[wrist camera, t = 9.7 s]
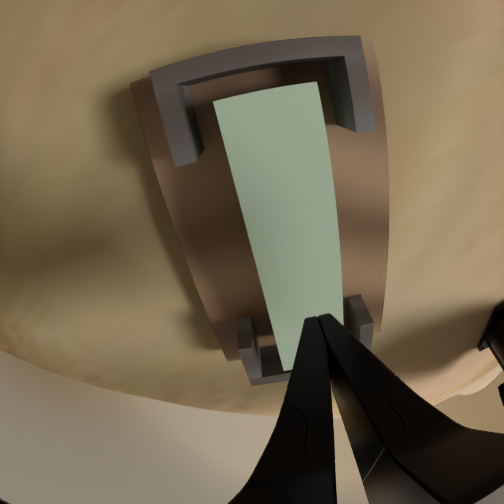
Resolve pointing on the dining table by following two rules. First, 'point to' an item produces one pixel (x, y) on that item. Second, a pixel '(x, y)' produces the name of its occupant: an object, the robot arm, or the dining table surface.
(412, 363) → the dining table surface
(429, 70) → the dining table surface
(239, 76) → the frame
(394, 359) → the dining table surface
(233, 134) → the slat
